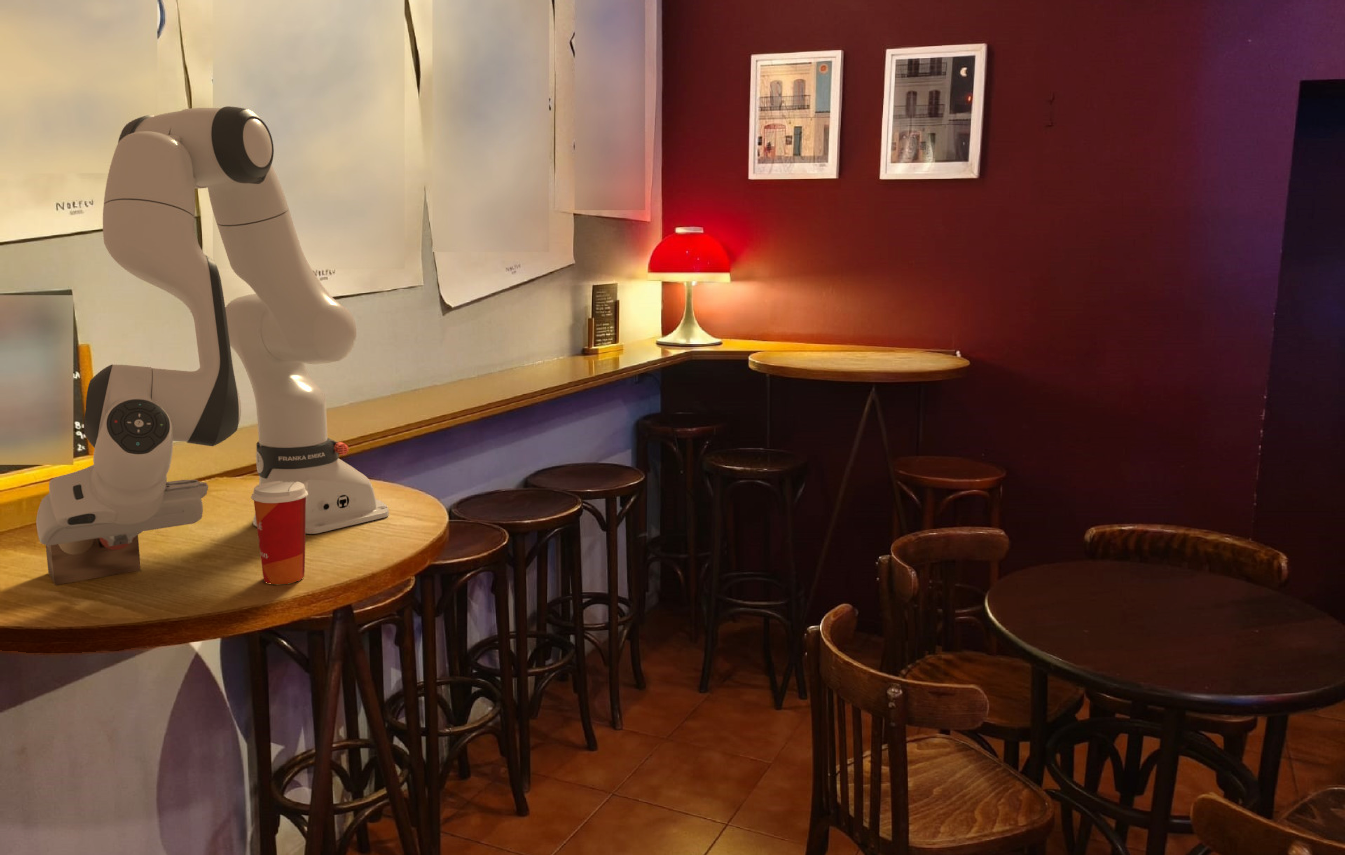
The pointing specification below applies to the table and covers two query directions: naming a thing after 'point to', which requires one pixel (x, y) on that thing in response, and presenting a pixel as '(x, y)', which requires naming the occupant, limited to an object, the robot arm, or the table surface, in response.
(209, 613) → the table surface
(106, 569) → the socket block
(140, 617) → the table surface
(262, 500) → the paper cup
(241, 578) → the table surface
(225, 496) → the table surface
